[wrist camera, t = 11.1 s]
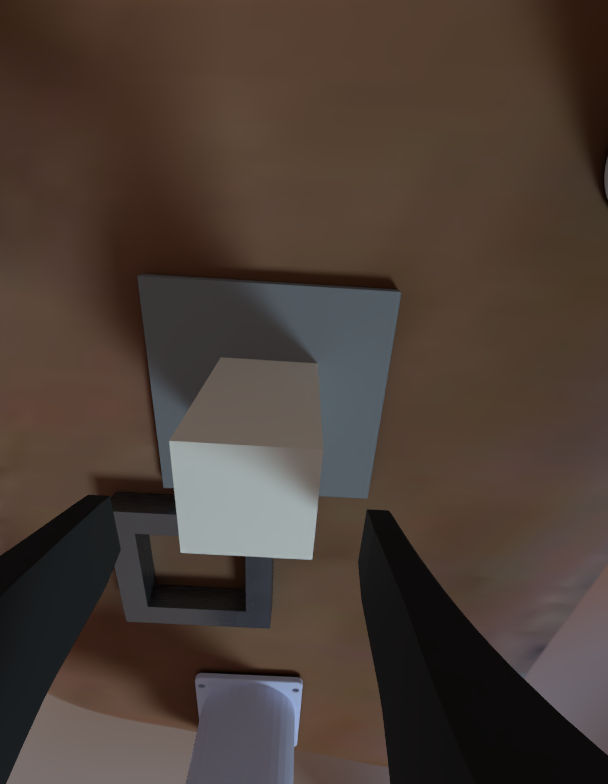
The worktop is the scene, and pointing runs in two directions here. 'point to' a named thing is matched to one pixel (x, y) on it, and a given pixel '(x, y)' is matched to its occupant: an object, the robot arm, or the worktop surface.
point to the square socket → (178, 602)
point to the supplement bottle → (606, 178)
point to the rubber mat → (275, 355)
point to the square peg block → (250, 461)
